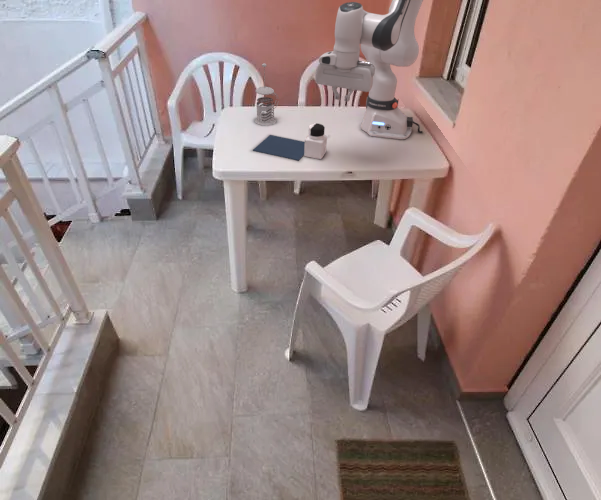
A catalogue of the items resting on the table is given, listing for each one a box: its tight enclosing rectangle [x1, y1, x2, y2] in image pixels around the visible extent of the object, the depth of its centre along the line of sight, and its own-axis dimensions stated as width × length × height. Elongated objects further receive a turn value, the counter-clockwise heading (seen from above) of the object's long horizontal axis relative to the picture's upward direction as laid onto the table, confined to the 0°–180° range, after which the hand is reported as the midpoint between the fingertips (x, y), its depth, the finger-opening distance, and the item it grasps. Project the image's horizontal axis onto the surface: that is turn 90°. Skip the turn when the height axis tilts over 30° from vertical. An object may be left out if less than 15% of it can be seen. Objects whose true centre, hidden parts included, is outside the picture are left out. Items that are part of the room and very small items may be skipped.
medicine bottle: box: [303, 123, 328, 160], centre depth 161 cm, size 7×7×12 cm
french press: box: [254, 62, 279, 126], centre depth 182 cm, size 10×12×25 cm
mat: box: [252, 134, 305, 162], centre depth 169 cm, size 20×16×1 cm
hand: (341, 100), depth 148 cm, fingers closed
